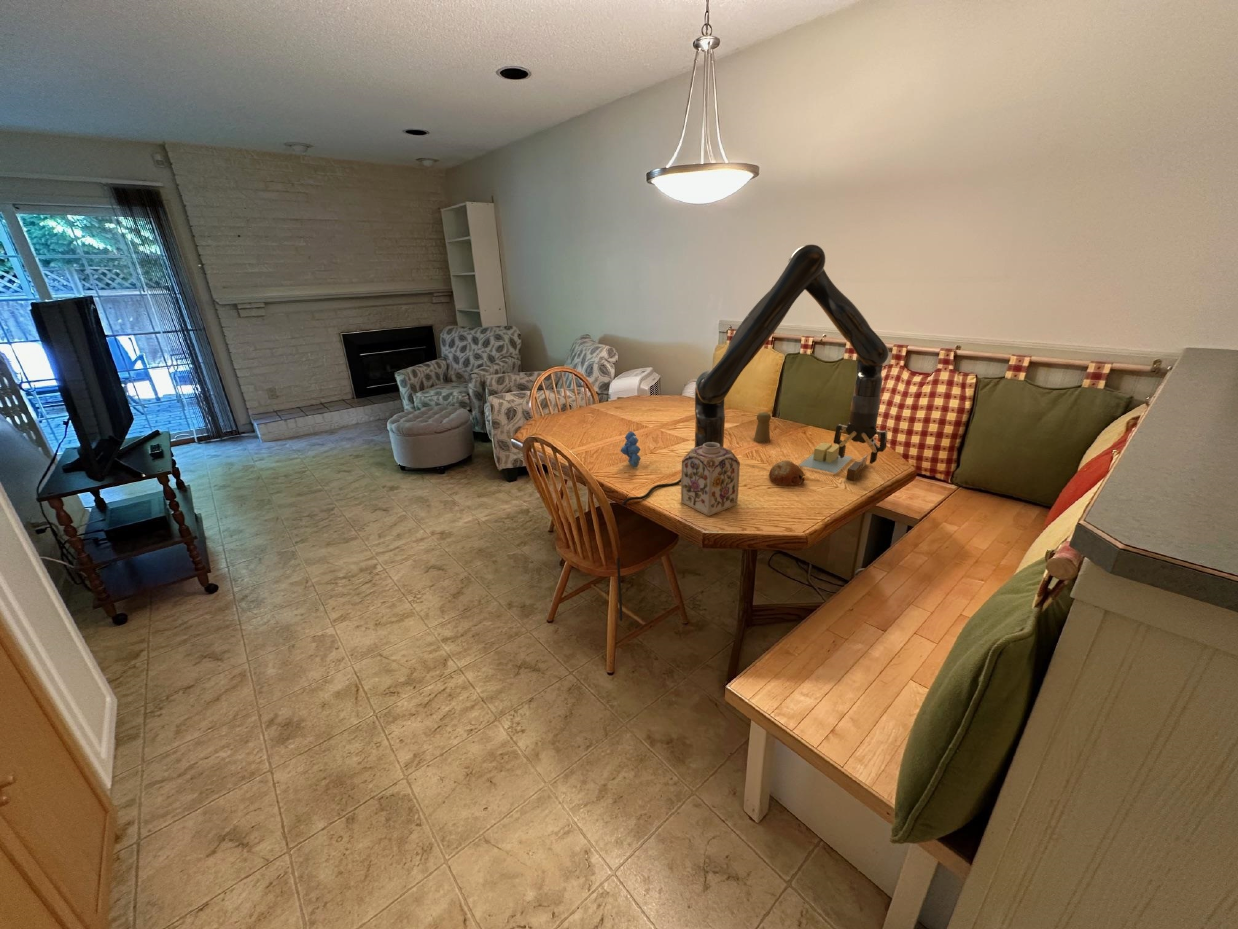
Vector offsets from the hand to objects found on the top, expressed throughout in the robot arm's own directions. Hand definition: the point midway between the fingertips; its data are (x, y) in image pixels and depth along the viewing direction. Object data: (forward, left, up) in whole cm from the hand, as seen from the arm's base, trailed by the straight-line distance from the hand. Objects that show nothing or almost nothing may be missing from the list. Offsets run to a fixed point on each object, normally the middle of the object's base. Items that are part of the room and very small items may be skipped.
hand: (856, 460), depth 147 cm
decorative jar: (-42, +27, -7) cm, 50 cm away
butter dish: (+8, +11, -6) cm, 15 cm away
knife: (+4, 0, -6) cm, 8 cm away
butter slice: (+11, +10, -5) cm, 16 cm away
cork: (+19, +39, -7) cm, 44 cm away
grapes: (-32, +64, -7) cm, 72 cm away
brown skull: (-13, +16, -7) cm, 22 cm away
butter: (+11, +14, -5) cm, 18 cm away
